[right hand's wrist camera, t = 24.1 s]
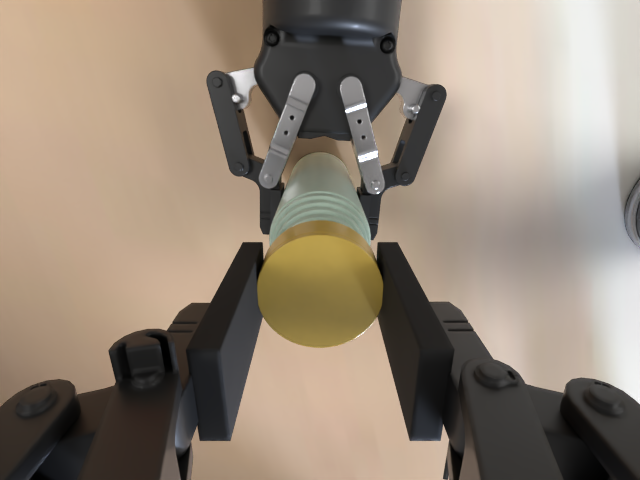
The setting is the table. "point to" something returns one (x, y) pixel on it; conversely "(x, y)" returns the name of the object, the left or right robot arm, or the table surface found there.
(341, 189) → the bottle
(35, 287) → the table surface
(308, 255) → the cap
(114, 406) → the right robot arm
